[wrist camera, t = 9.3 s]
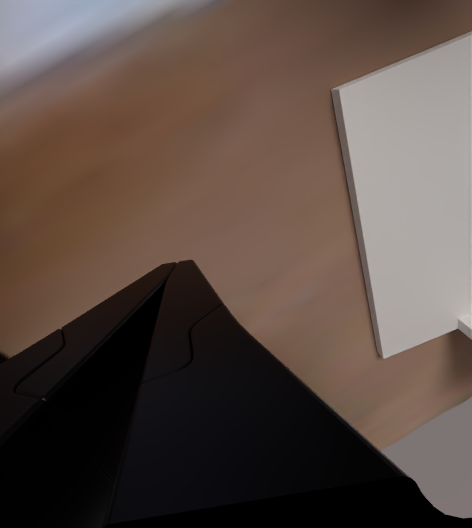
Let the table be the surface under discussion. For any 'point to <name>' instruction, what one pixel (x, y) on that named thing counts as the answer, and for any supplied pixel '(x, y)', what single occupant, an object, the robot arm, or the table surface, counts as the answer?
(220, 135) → the table surface
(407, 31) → the table surface
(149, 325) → the robot arm
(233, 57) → the table surface
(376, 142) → the cabinet base
